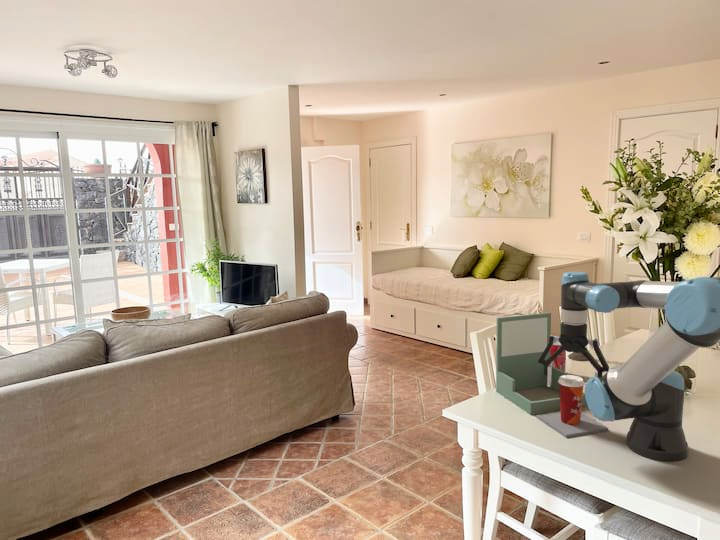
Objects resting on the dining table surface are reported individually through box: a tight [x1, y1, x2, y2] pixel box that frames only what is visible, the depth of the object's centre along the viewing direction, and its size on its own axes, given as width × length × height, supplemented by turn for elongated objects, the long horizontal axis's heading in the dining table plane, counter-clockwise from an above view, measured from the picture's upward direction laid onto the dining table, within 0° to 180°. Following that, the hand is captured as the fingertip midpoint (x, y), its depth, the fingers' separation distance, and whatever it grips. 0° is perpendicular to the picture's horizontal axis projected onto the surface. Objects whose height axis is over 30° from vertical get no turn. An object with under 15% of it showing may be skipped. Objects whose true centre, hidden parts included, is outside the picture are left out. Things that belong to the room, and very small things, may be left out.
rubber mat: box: [535, 411, 609, 438], centre depth 163 cm, size 15×15×1 cm
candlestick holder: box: [567, 352, 589, 362], centre depth 225 cm, size 9×9×30 cm
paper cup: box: [558, 374, 586, 425], centre depth 162 cm, size 8×8×14 cm
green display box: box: [495, 312, 588, 416], centre depth 182 cm, size 22×22×28 cm
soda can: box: [550, 341, 567, 373], centre depth 207 cm, size 7×7×13 cm
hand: (572, 388), depth 161 cm, fingers open, 13 cm apart
